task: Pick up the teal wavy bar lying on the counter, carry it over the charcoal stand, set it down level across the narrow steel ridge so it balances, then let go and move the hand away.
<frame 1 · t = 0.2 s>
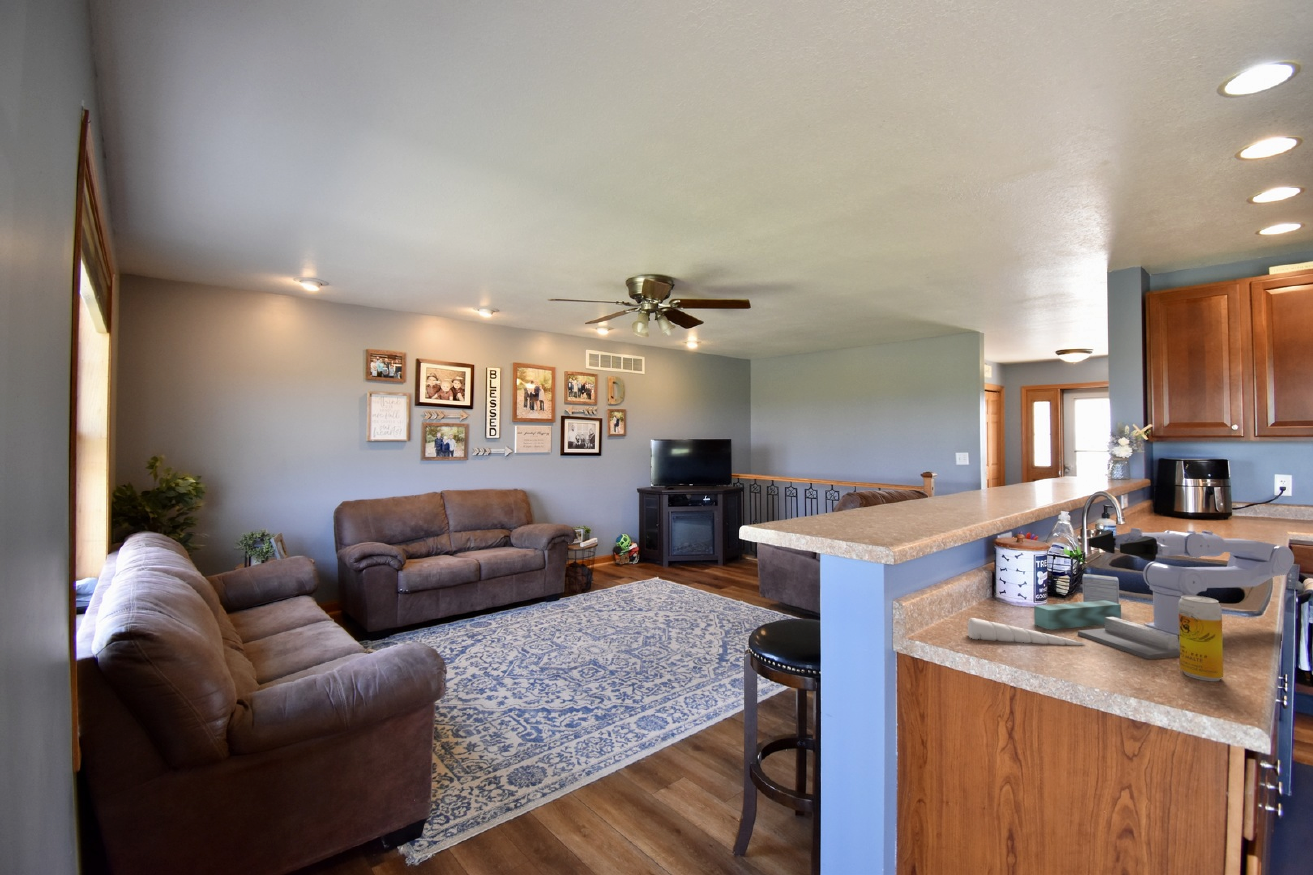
hand: (1105, 545, 135), 21 cm above the countertop, tool horizontal, fingers open, 7 cm apart
unicorn horn: (1021, 642, 131), on the countertop
medicine box: (1101, 608, 157), on the countertop
teal wavy bar: (1078, 624, 143), on the countertop
beer can: (1201, 677, 110), on the countertop
ridge stand: (1139, 643, 128), on the countertop
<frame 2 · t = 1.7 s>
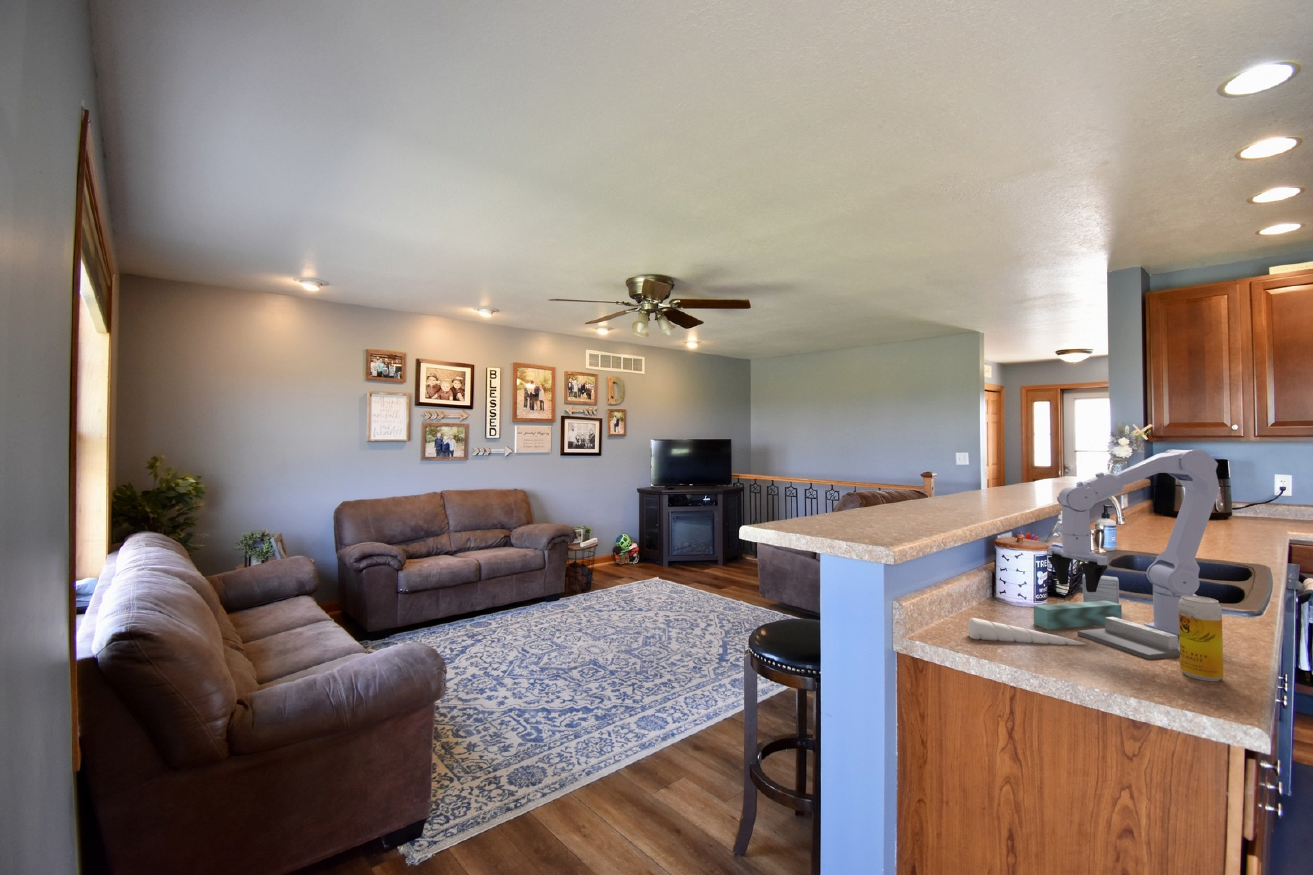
hand: (1077, 588, 143), 9 cm above the countertop, tool pointing down, fingers open, 7 cm apart
nothing on the countertop moved.
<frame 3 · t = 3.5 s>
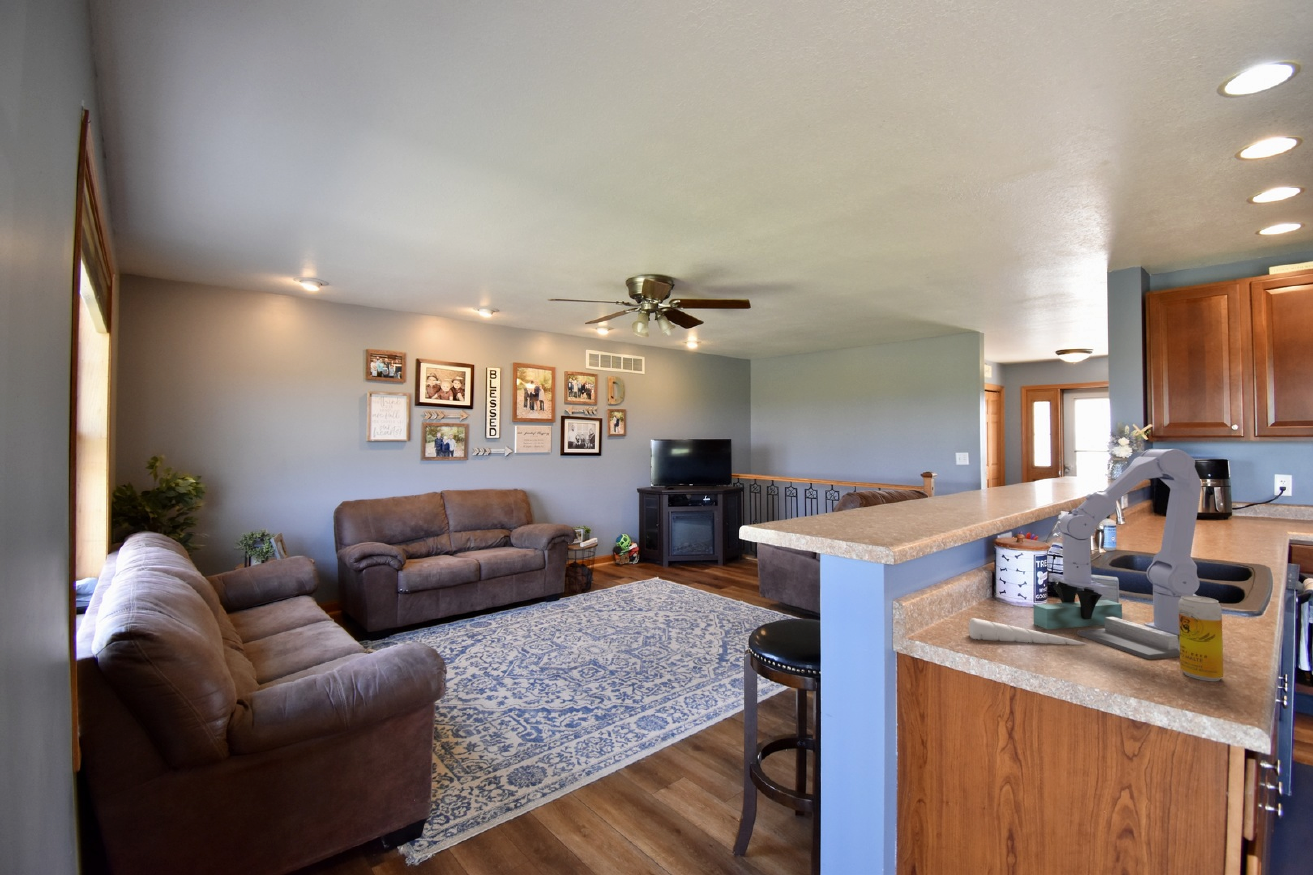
hand: (1077, 616, 143), 2 cm above the countertop, tool pointing down, fingers closed on teal wavy bar, 4 cm apart
teal wavy bar: (1078, 624, 143), on the countertop, touching gripper
everything else where it was.
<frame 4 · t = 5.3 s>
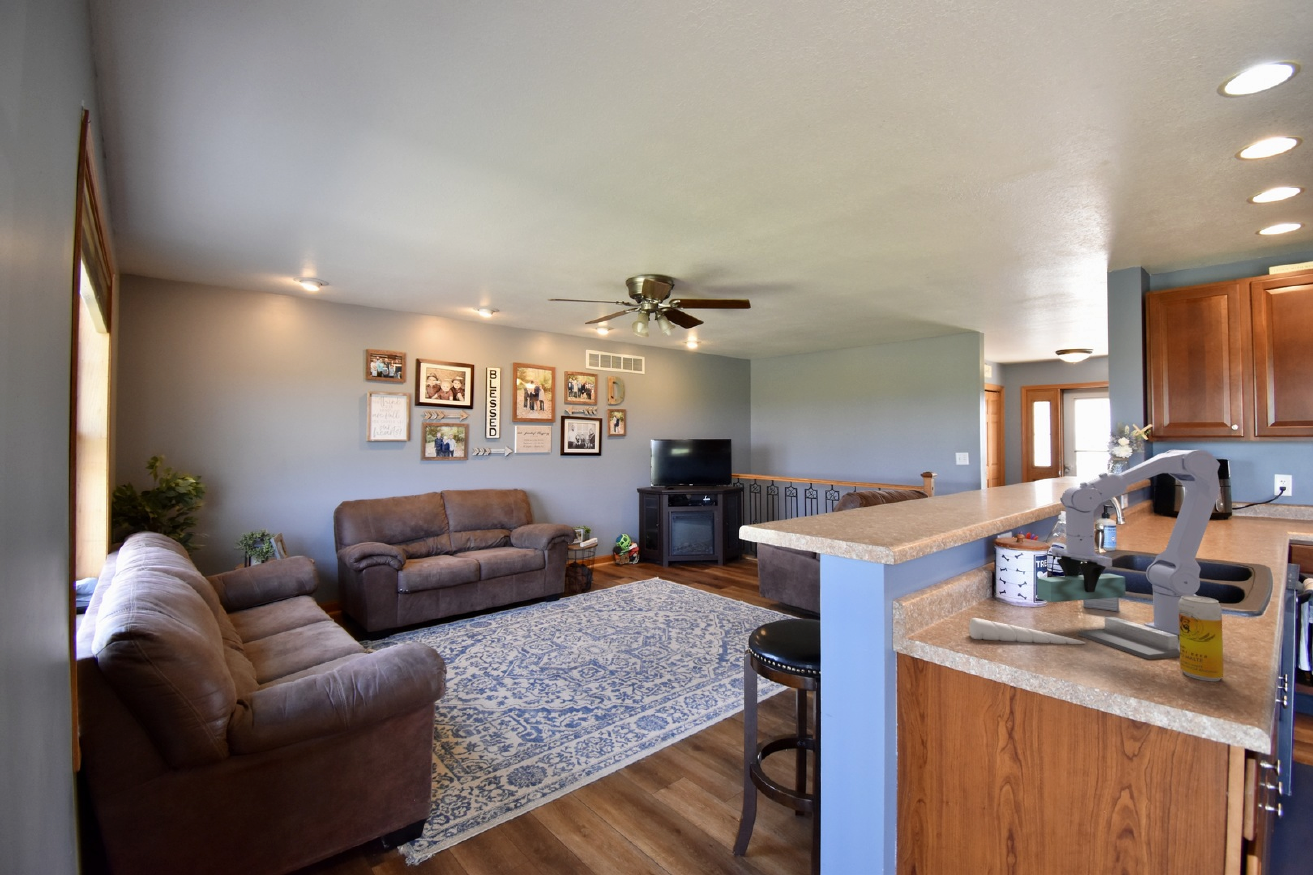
hand: (1081, 589, 142), 9 cm above the countertop, tool pointing down, fingers closed on teal wavy bar, 4 cm apart
teal wavy bar: (1081, 597, 142), point 7 cm above the countertop, touching gripper
everything else where it was.
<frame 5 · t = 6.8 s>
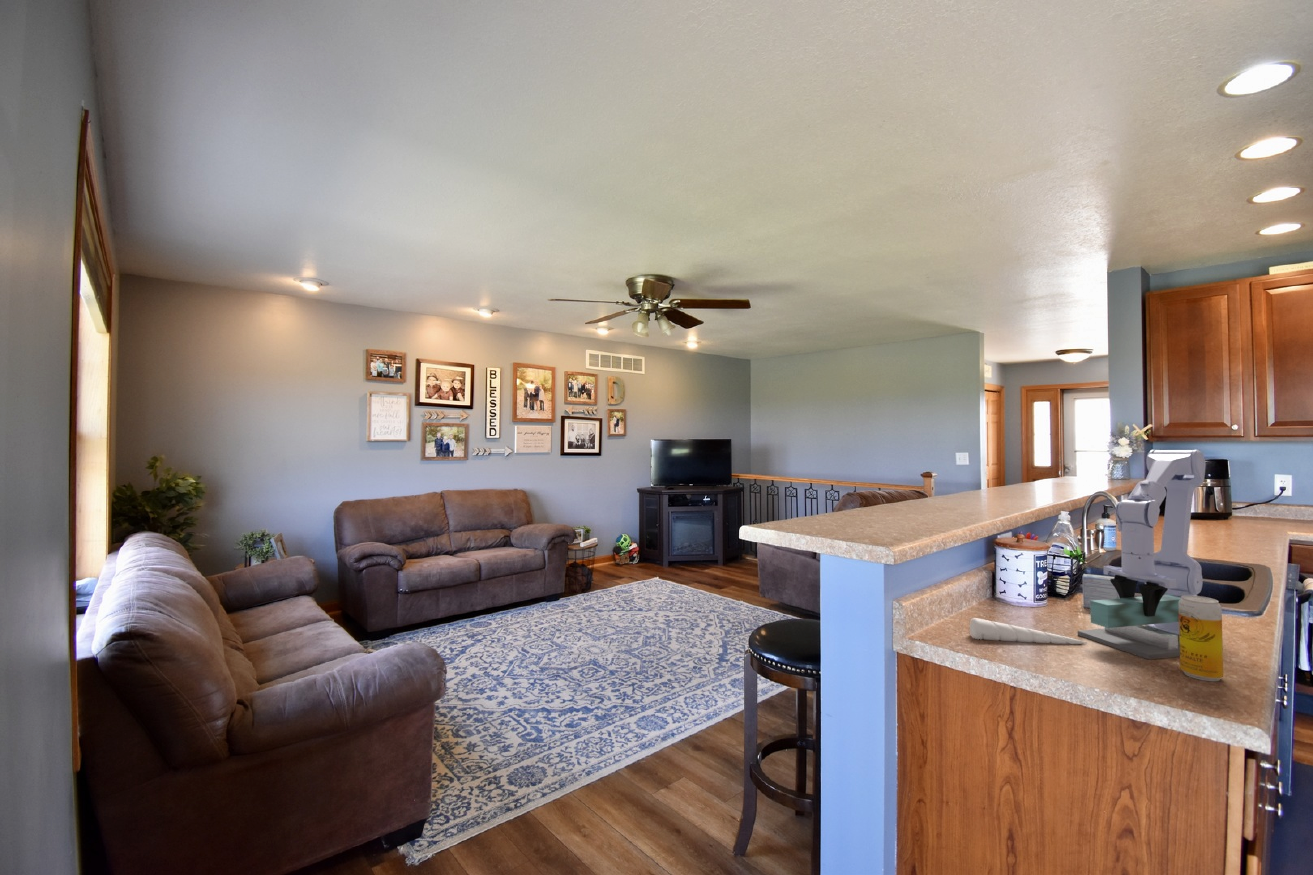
hand: (1138, 612, 128), 7 cm above the countertop, tool pointing down, fingers closed on teal wavy bar, 4 cm apart
teal wavy bar: (1138, 621, 128), point 5 cm above the countertop, touching gripper
everything else where it was.
when the fingers open (7 cm above the countertop, at t = 7.6 s): teal wavy bar stays where it is, resting on ridge stand.
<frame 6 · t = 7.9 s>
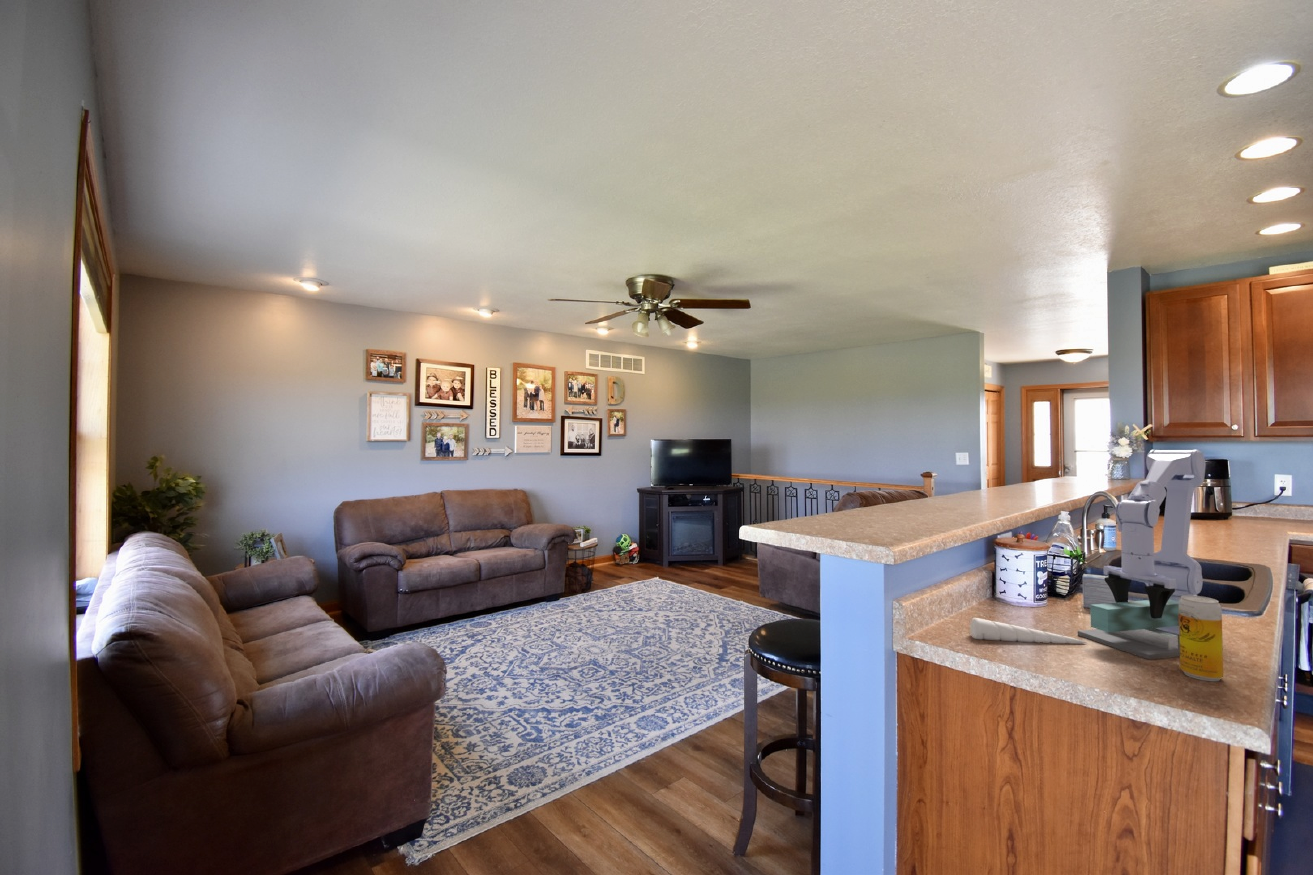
hand: (1138, 613, 128), 7 cm above the countertop, tool pointing down, fingers open, 7 cm apart
teal wavy bar: (1139, 625, 128), point 4 cm above the countertop, touching ridge stand
everything else where it was.
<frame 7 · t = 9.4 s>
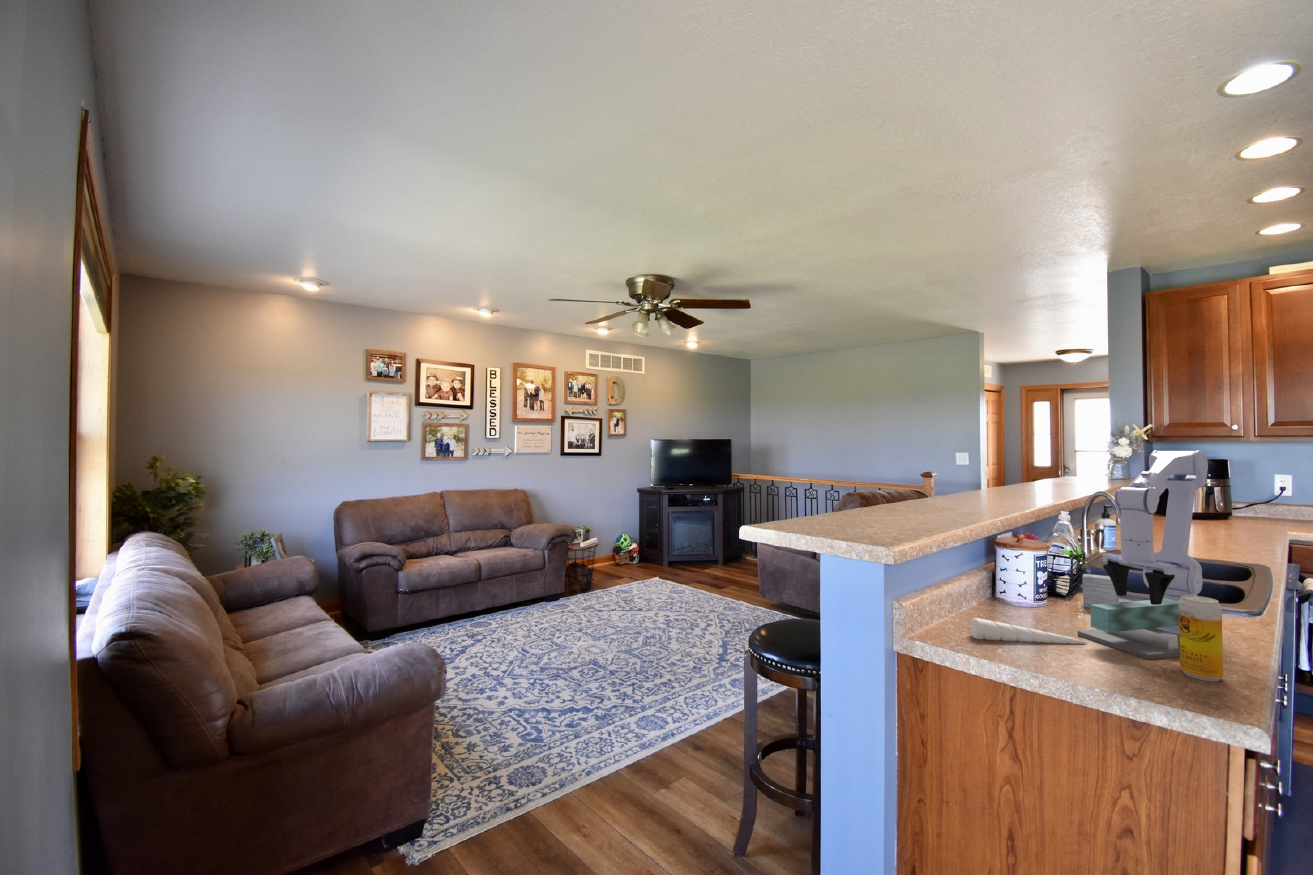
hand: (1138, 599, 129), 10 cm above the countertop, tool pointing down, fingers open, 7 cm apart
nothing on the countertop moved.
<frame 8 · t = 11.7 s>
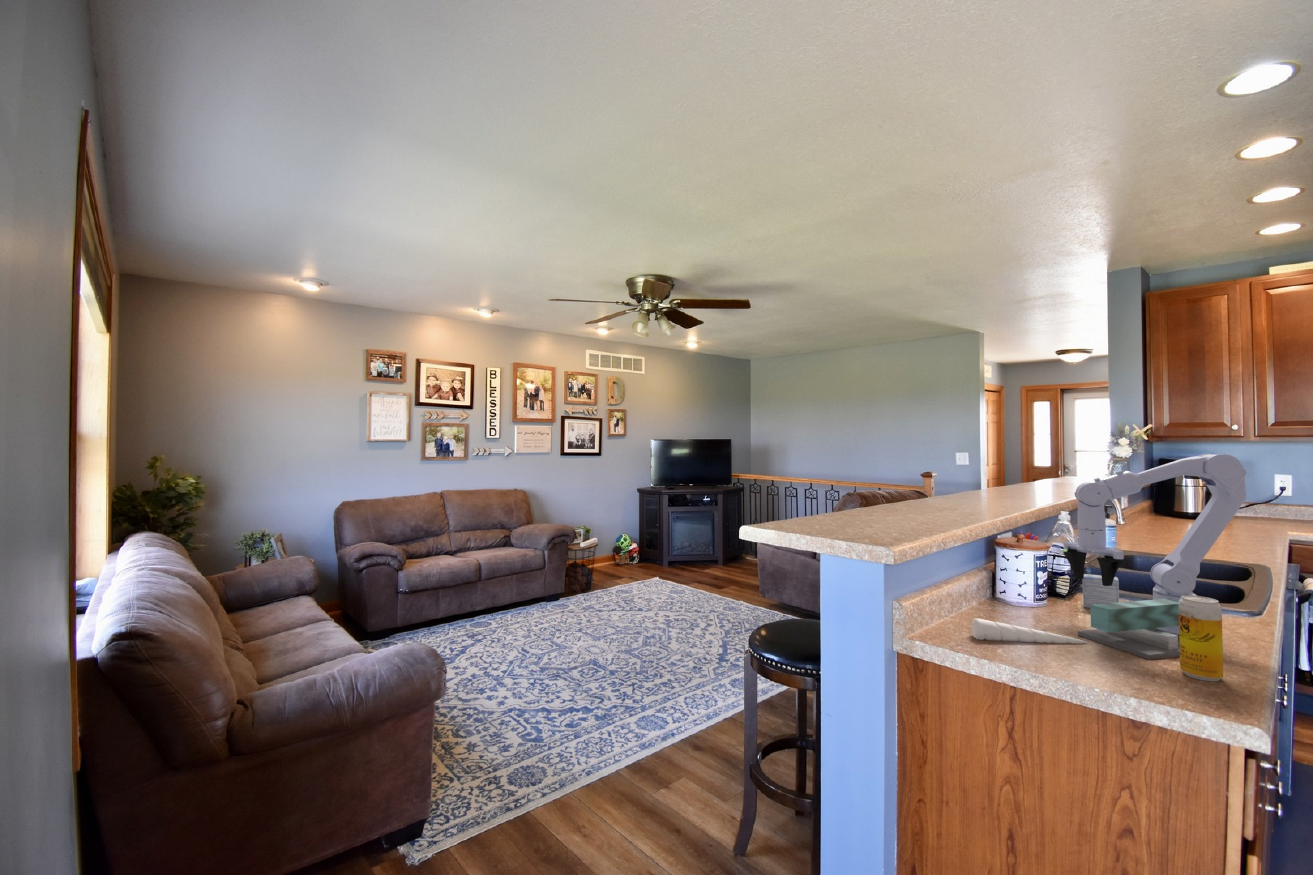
hand: (1092, 582, 145), 10 cm above the countertop, tool pointing down, fingers open, 7 cm apart
at the end: teal wavy bar 0.1 cm off-centre on the ridge stand, point 4.0 cm above the ridge stand's base; teal wavy bar tilted 0°; the gripper is holding nothing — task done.
